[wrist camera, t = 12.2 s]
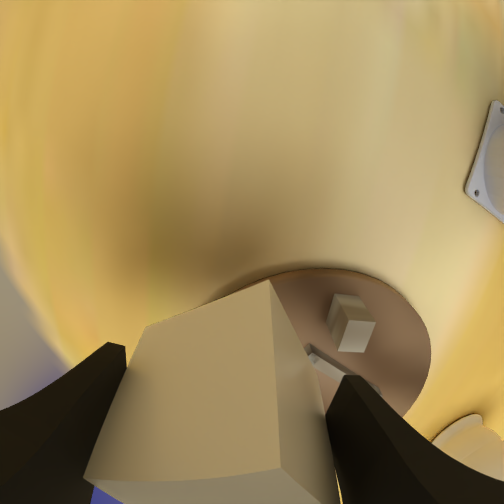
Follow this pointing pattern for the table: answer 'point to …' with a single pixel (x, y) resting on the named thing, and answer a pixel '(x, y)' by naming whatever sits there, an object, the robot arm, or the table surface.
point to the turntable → (356, 332)
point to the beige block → (218, 412)
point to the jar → (473, 446)
